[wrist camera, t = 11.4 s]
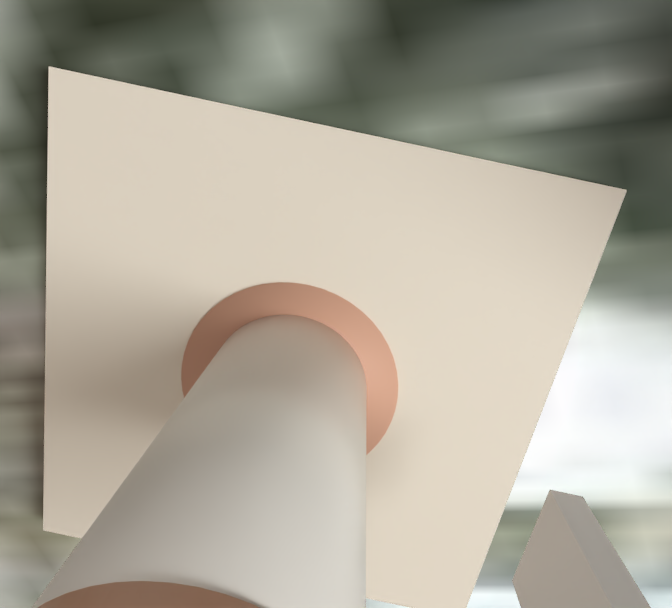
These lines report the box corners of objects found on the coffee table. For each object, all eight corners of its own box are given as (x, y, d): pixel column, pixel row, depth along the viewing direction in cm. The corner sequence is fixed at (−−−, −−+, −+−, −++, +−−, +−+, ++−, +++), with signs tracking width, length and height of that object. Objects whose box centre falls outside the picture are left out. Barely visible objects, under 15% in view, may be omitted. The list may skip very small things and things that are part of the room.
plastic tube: (220, 297, 15) (-278, 811, 3) (384, 331, 15) (441, 956, 3) (201, 438, 16) (-178, 1109, 5) (349, 469, 16) (309, 1208, 5)
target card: (61, 69, 14) (46, 65, 13) (616, 188, 14) (628, 190, 13) (52, 518, 19) (41, 531, 18) (459, 603, 19) (462, 619, 18)
